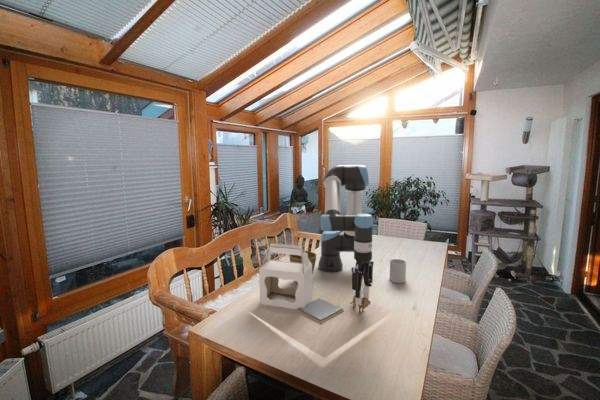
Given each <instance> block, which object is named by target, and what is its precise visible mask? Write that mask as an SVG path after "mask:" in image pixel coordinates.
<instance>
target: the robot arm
mask: <svg viewBox="0 0 600 400" xmlns="http://www.w3.org/2000/svg"><path fill="white" fill-rule="evenodd" d="M369 181H370V180H369V172H368V168H367V166H366V165H362V164H345V165H343V164H341V165H339V164H338V165H335V166H333V167H332V168H330V169H329V170H328V171H327V172H326V173H325V175H324V177H323V187H324V189H325V190H324V192H325V193H324V214H321V215H320V230H321V231H323V232H322V233H321V236H320V245H321V246H320V247H321V248H320V250H321V251H320V253H321V254H320V258H319V261H318V264H317V265H318V269H319V270H320V271H324V272H330V273H331V272H338V271H342V269H343V265H344V264H343V261H342V259H341V252H342V253H345V252H346V253H353V258H354V260H355V266H354V267H351V289H352V290H353V291H354V292H355V293H354V296H355V297H356V298H355V303H356V305H357V304H358V305H360V306H361V305H362V298H365V297H367V298H368V300H369V301H370V299H369V298H370V287H372V284H373V275H374V273H373V272H374V263H375V262H374V261H372V260H373V251H372V250H373V233H374V232H373V227H374V220H373V219H374V217H373V215H372V214H369V213H362V211H363V196H364V195H363V193H364V191H365V190H366V187H368V186H369V185H370V183H369ZM341 187H344V189H345V191H346V192H347V195H346V196H347V198H346V199H347V201H346V204H347V205H346V214H342V213H341V195H340V194H341V192H340V190H341V189H340V188H341ZM362 284H363V285H362ZM358 305H357V306H358Z"/></svg>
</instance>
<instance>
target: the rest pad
mask: <svg viewBox="0 0 600 400" xmlns="http://www.w3.org/2000/svg"><path fill="white" fill-rule="evenodd" d="M295 311H296V312H297V313H300V314H301V315H303V316H306V317H307V318H309V319H311V320H313V321H315V322H317V323H319V324H323V323H324V322H326V321H328V320H330V319H332V318H334V317H336V316H337V315H339V314H342V313H343V312H344V311H345V309H344V308H342V307H341V306H338V305H335V304H333V303H330V302H328V301H326V300H323V299H322V298H316V299H315V300H311V301H310V302H309V303H308V304H306V306H305V307H304V308H301V307H299V308H298V309H295Z"/></svg>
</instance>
